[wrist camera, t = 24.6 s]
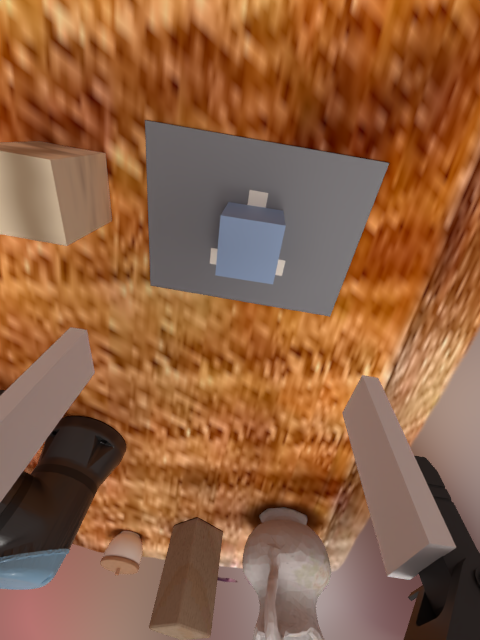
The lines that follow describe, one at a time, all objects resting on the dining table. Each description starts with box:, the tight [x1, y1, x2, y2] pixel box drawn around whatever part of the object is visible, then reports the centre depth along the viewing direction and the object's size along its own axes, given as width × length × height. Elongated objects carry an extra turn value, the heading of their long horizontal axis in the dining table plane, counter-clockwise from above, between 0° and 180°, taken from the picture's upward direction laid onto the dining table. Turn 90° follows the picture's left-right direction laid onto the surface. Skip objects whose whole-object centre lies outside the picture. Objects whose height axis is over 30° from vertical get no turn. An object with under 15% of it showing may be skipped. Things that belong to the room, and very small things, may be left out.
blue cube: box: [215, 202, 286, 284], centre depth 30 cm, size 6×6×6 cm
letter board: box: [145, 120, 389, 316], centre depth 33 cm, size 24×18×1 cm
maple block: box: [0, 141, 112, 246], centre depth 28 cm, size 7×7×9 cm
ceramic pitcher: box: [243, 507, 331, 640], centre depth 61 cm, size 22×20×25 cm
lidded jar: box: [100, 531, 143, 576], centre depth 82 cm, size 11×11×9 cm
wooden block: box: [149, 518, 223, 640], centre depth 71 cm, size 10×10×20 cm
